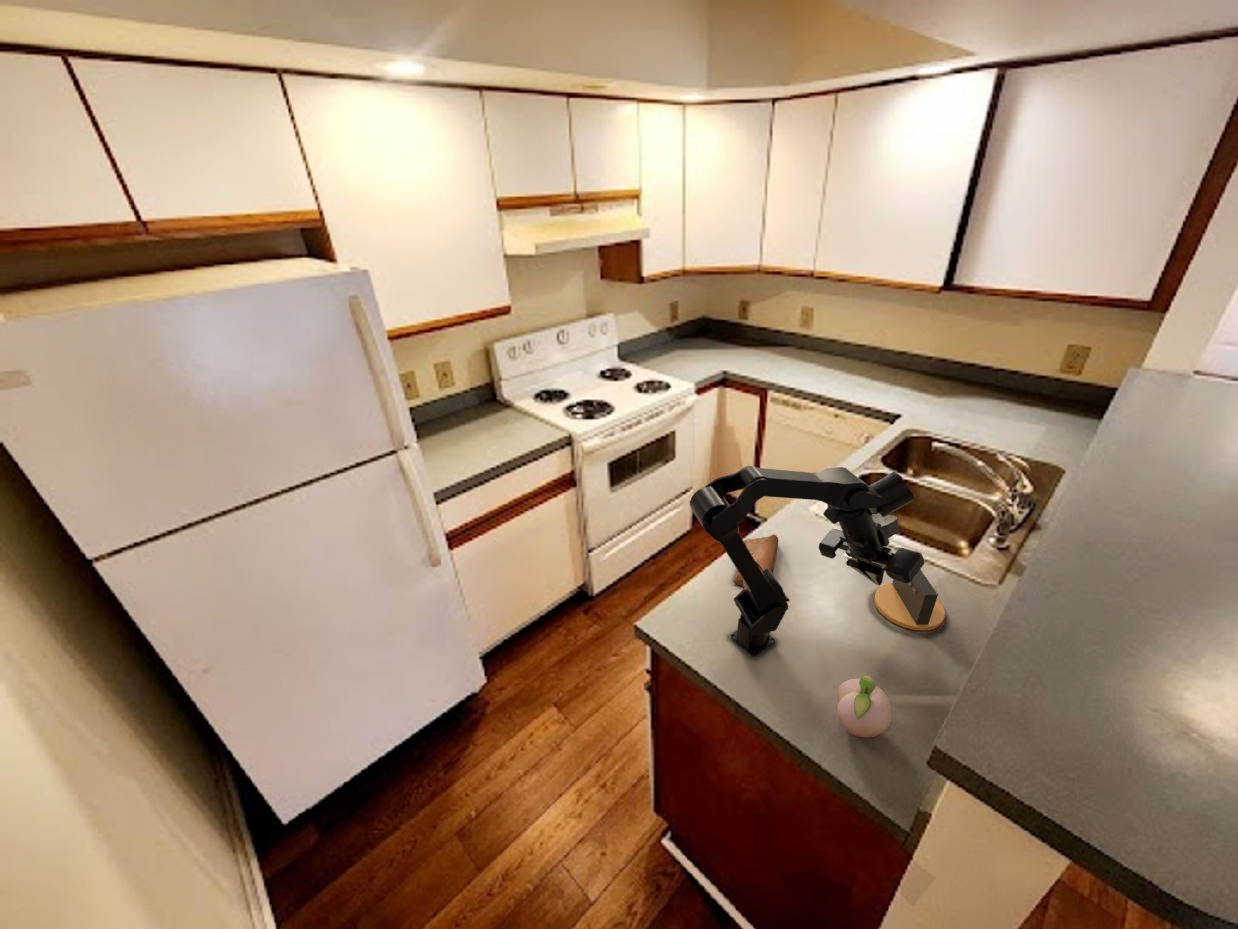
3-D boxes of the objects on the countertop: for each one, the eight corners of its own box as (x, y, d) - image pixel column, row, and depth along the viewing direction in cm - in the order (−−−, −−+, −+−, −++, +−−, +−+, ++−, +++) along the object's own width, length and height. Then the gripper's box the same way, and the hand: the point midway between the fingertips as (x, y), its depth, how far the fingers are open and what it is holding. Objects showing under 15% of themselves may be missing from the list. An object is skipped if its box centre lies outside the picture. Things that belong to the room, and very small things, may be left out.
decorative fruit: (885, 760, 85) (899, 720, 81) (831, 743, 88) (841, 704, 83) (883, 711, 93) (895, 672, 88) (834, 697, 96) (842, 659, 91)
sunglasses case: (743, 538, 137) (759, 521, 133) (766, 553, 137) (782, 537, 133) (732, 583, 122) (749, 567, 118) (757, 601, 122) (775, 585, 118)
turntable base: (921, 646, 105) (922, 643, 104) (857, 606, 115) (858, 602, 115) (958, 615, 112) (959, 611, 111) (894, 579, 122) (895, 576, 121)
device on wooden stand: (888, 630, 107) (898, 597, 103) (865, 585, 119) (872, 554, 115) (956, 630, 107) (968, 597, 102) (925, 585, 118) (935, 553, 114)
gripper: (930, 509, 94) (948, 570, 101) (838, 490, 110) (858, 544, 116) (897, 551, 90) (917, 612, 97) (806, 525, 106) (829, 579, 113)
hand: (879, 583), depth 106 cm, fingers closed
